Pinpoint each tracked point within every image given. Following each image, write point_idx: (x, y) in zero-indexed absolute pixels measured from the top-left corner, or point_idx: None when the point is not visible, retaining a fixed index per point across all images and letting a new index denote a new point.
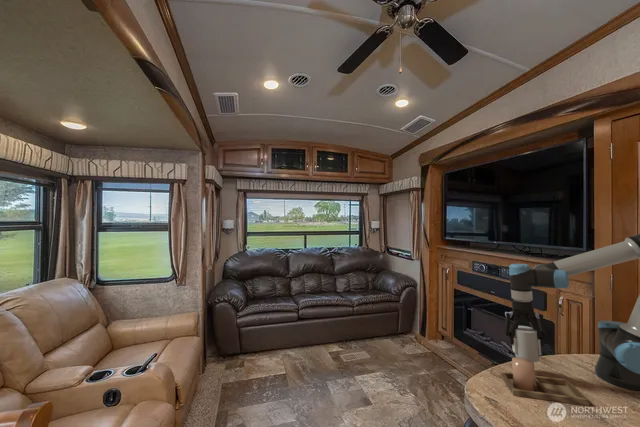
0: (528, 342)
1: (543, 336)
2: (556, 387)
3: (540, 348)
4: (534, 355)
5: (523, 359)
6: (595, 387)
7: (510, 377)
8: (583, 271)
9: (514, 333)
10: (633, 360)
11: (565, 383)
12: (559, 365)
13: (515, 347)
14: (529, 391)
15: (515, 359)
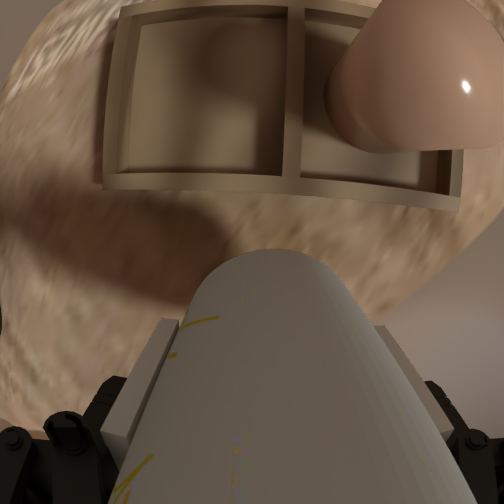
0: (327, 357)
1: (41, 457)
2: (187, 134)
3: (143, 356)
4: (246, 272)
5: (443, 97)
6: (24, 209)
7: (411, 189)
8: None
9: (467, 483)
10: None
11: (123, 170)
12: (86, 376)
13: (401, 357)
14: None
15: (500, 100)
